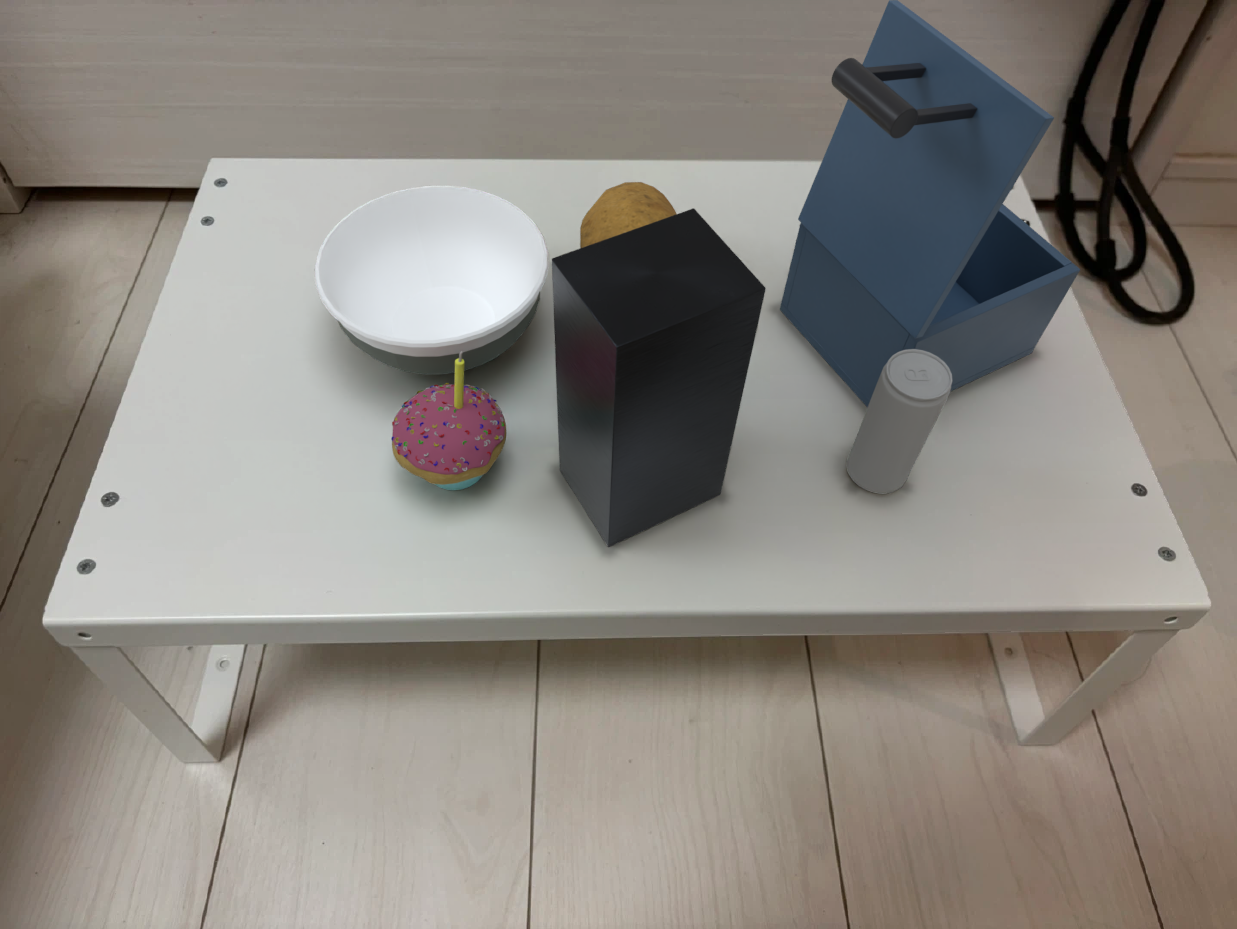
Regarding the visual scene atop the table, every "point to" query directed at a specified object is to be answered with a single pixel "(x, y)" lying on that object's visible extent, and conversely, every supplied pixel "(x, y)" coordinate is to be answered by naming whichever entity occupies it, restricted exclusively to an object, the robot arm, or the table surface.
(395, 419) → the cupcake
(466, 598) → the table surface
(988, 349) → the chest
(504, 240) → the bowl
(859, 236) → the lid
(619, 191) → the potato
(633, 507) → the stand
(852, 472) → the beverage can
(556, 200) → the table surface
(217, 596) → the table surface
